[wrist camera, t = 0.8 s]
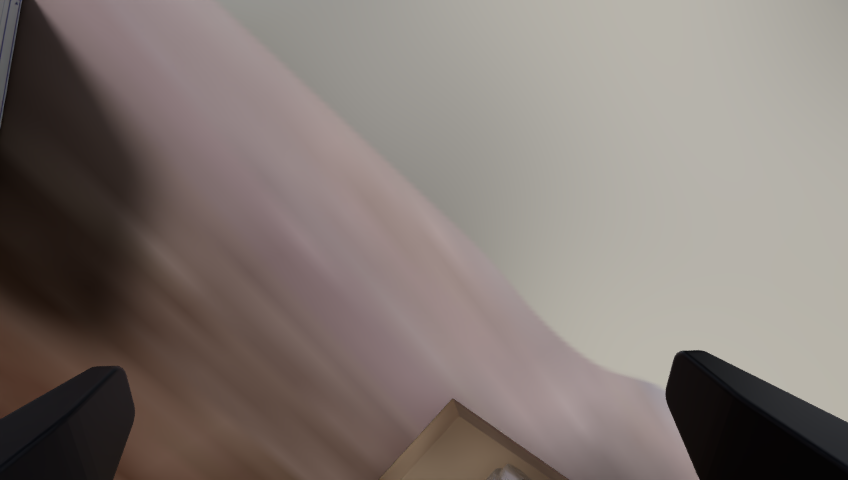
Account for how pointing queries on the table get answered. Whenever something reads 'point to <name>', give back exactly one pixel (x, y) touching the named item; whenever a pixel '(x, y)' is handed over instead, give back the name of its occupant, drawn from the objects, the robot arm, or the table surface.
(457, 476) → the valve board
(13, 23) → the medicine box
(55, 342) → the table surface
